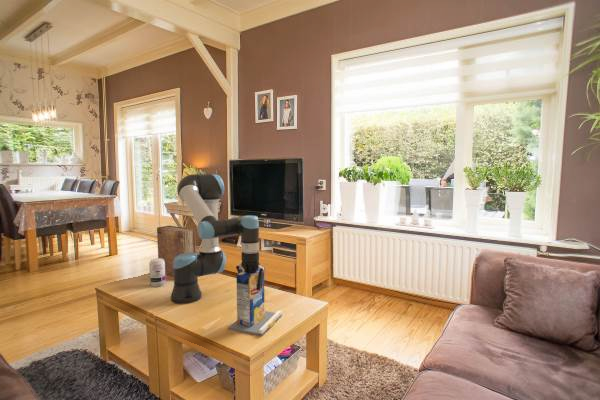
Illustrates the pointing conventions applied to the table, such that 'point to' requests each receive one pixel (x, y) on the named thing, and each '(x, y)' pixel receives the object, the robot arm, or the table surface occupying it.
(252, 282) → the beverage box
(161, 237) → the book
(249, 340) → the table surface
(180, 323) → the table surface
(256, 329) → the grey slab
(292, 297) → the table surface
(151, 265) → the supplement can
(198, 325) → the table surface
